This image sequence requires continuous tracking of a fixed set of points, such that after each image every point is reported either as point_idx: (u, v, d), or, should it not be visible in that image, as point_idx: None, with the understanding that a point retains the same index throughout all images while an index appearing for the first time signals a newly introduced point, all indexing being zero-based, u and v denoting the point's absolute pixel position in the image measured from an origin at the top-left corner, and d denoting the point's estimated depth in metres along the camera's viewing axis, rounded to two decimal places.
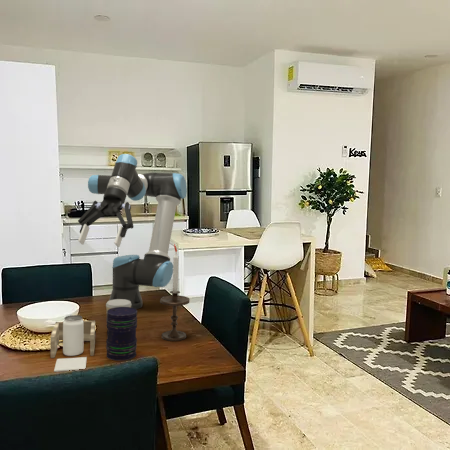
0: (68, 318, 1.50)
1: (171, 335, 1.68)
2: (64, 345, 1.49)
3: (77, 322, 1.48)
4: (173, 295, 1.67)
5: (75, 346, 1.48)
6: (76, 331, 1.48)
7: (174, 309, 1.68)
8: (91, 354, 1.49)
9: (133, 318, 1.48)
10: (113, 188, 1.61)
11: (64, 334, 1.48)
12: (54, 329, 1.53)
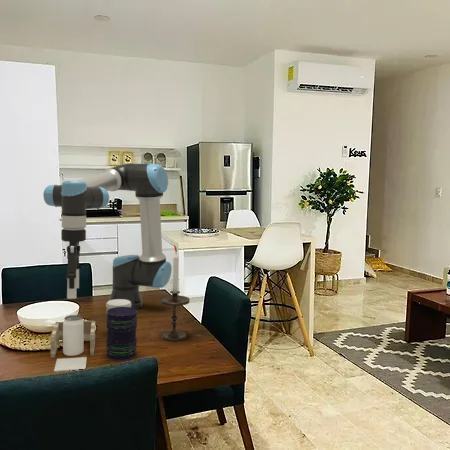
0: (68, 318, 1.50)
1: (171, 335, 1.68)
2: (64, 345, 1.49)
3: (77, 322, 1.48)
4: (173, 295, 1.67)
5: (75, 346, 1.48)
6: (76, 331, 1.48)
7: (174, 309, 1.68)
8: (91, 354, 1.49)
9: (133, 318, 1.48)
10: (61, 231, 1.46)
11: (64, 334, 1.48)
12: (54, 329, 1.53)
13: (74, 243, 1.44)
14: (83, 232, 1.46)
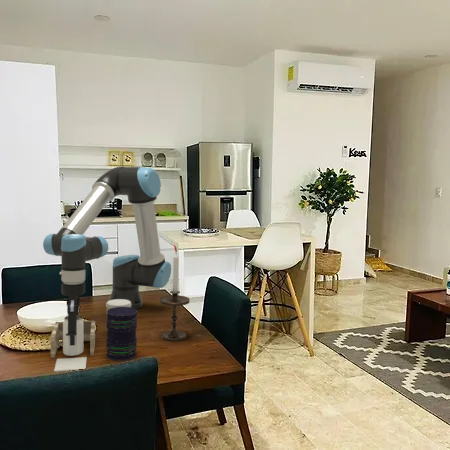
0: None
1: (171, 335, 1.68)
2: (64, 345, 1.49)
3: (77, 322, 1.48)
4: (173, 295, 1.67)
5: None
6: (76, 331, 1.48)
7: (174, 309, 1.68)
8: (91, 354, 1.49)
9: (133, 318, 1.48)
10: (61, 285, 1.47)
11: (64, 334, 1.48)
12: (54, 329, 1.53)
13: (74, 297, 1.46)
14: (83, 286, 1.48)
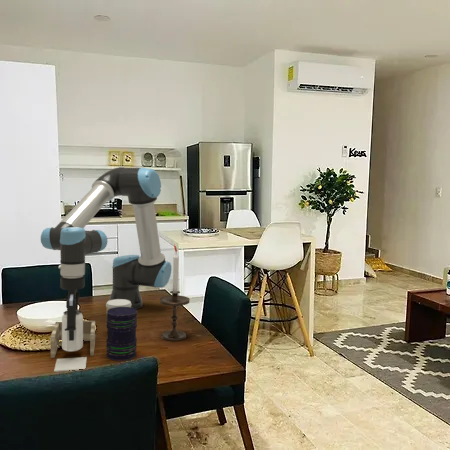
0: None
1: (171, 335, 1.68)
2: (63, 340, 1.46)
3: (76, 316, 1.45)
4: (173, 295, 1.67)
5: None
6: None
7: (174, 309, 1.68)
8: (91, 354, 1.49)
9: (133, 318, 1.48)
10: (60, 279, 1.45)
11: (63, 329, 1.45)
12: (54, 329, 1.53)
13: (73, 291, 1.43)
14: (82, 280, 1.45)
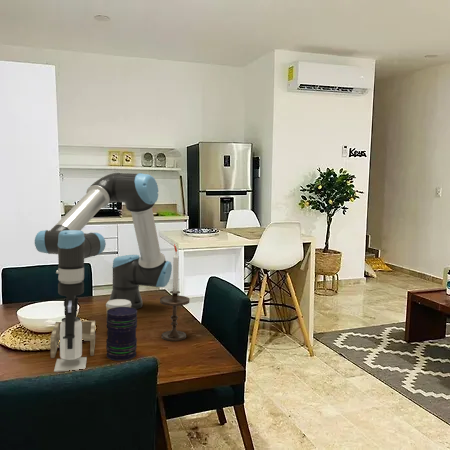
0: None
1: (171, 335, 1.68)
2: (61, 349, 1.39)
3: (75, 324, 1.39)
4: (173, 295, 1.67)
5: None
6: (74, 333, 1.38)
7: (174, 309, 1.68)
8: (91, 354, 1.49)
9: (133, 318, 1.48)
10: (58, 284, 1.38)
11: (61, 337, 1.39)
12: (54, 329, 1.53)
13: (71, 298, 1.36)
14: (81, 285, 1.38)
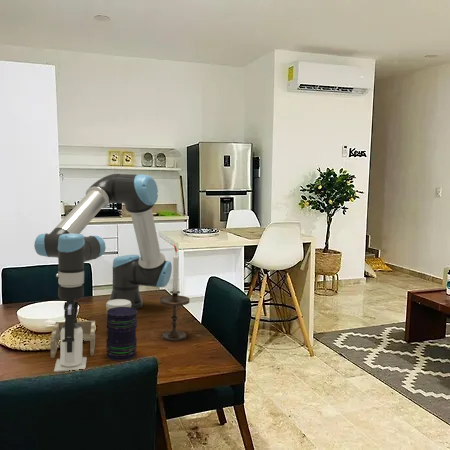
0: None
1: (171, 335, 1.68)
2: (62, 355, 1.39)
3: (76, 330, 1.39)
4: (173, 295, 1.67)
5: None
6: None
7: (174, 309, 1.68)
8: (91, 354, 1.49)
9: (133, 318, 1.48)
10: (58, 288, 1.38)
11: (62, 343, 1.39)
12: (54, 329, 1.53)
13: (71, 301, 1.36)
14: (81, 289, 1.38)
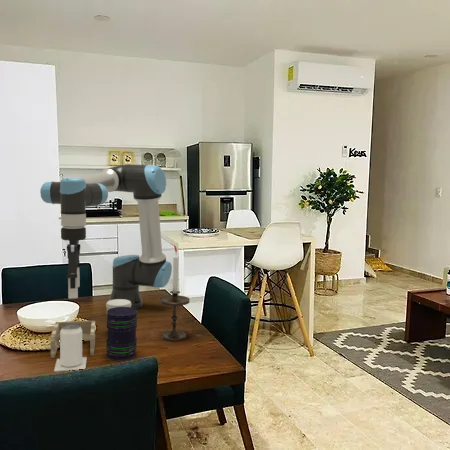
0: (66, 326, 1.41)
1: (171, 335, 1.68)
2: (61, 355, 1.39)
3: (75, 330, 1.39)
4: (173, 295, 1.67)
5: (73, 356, 1.39)
6: (74, 340, 1.38)
7: (174, 309, 1.68)
8: (91, 354, 1.49)
9: (133, 318, 1.48)
10: (61, 230, 1.43)
11: (61, 344, 1.39)
12: (54, 329, 1.53)
13: (74, 242, 1.41)
14: (83, 230, 1.43)
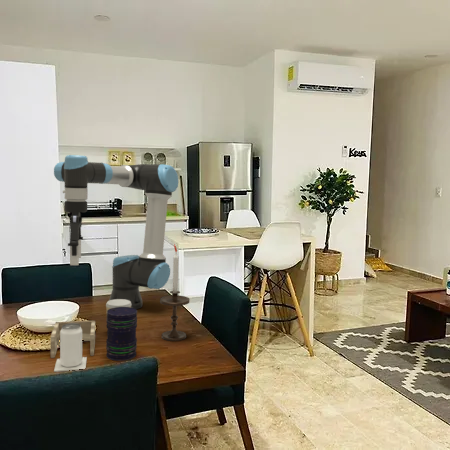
0: (66, 326, 1.41)
1: (171, 335, 1.68)
2: (61, 355, 1.39)
3: (75, 330, 1.39)
4: (173, 295, 1.67)
5: (73, 356, 1.39)
6: (74, 340, 1.38)
7: (174, 309, 1.68)
8: (91, 354, 1.49)
9: (133, 318, 1.48)
10: (64, 203, 1.55)
11: (61, 344, 1.39)
12: (54, 329, 1.53)
13: (76, 213, 1.54)
14: (85, 204, 1.56)
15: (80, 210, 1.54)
